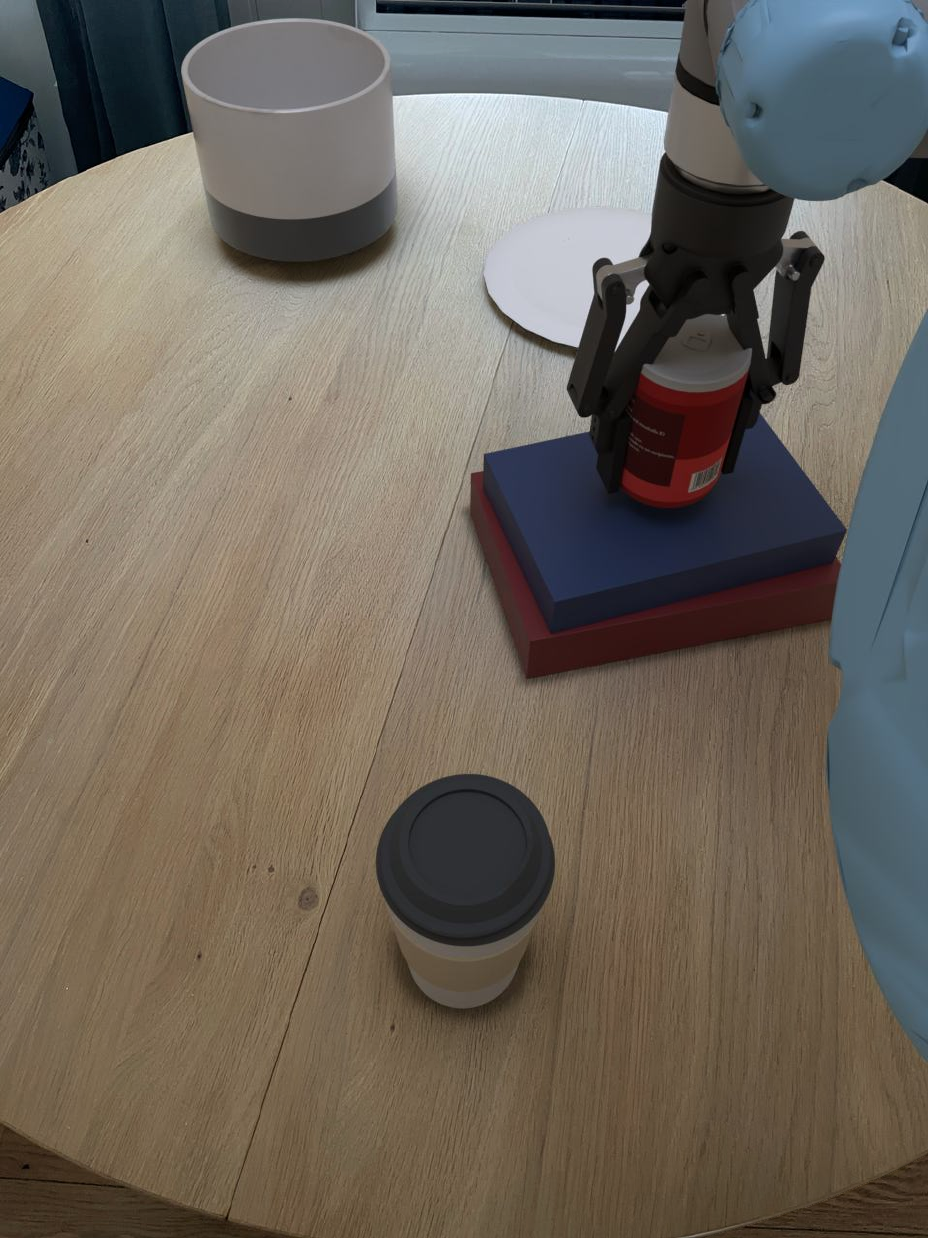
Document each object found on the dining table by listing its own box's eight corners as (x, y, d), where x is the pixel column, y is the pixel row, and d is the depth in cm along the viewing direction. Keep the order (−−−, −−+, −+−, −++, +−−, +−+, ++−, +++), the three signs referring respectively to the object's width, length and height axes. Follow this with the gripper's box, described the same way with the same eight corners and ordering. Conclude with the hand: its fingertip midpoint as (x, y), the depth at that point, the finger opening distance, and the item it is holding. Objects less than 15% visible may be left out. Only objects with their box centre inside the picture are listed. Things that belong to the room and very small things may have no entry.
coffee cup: (360, 985, 61) (338, 877, 49) (429, 856, 66) (424, 730, 54) (501, 1055, 58) (513, 958, 47) (561, 916, 64) (586, 797, 52)
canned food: (722, 443, 76) (757, 315, 67) (713, 520, 71) (749, 392, 62) (618, 426, 77) (638, 298, 68) (602, 501, 72) (622, 373, 63)
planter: (185, 219, 112) (147, 45, 98) (343, 170, 118) (329, 1, 104) (265, 310, 102) (235, 131, 88) (433, 251, 108) (430, 76, 94)
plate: (785, 314, 102) (789, 299, 101) (574, 397, 94) (576, 382, 93) (633, 196, 115) (635, 181, 114) (437, 260, 107) (437, 245, 106)
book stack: (833, 618, 78) (866, 547, 72) (526, 679, 75) (533, 609, 68) (743, 466, 88) (765, 392, 82) (469, 512, 85) (471, 438, 79)
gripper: (874, 106, 60) (777, 414, 77) (527, 146, 56) (509, 457, 74) (941, 172, 55) (822, 483, 73) (567, 219, 52) (539, 532, 70)
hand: (664, 470), depth 74 cm, fingers closed on canned food, 8 cm apart
